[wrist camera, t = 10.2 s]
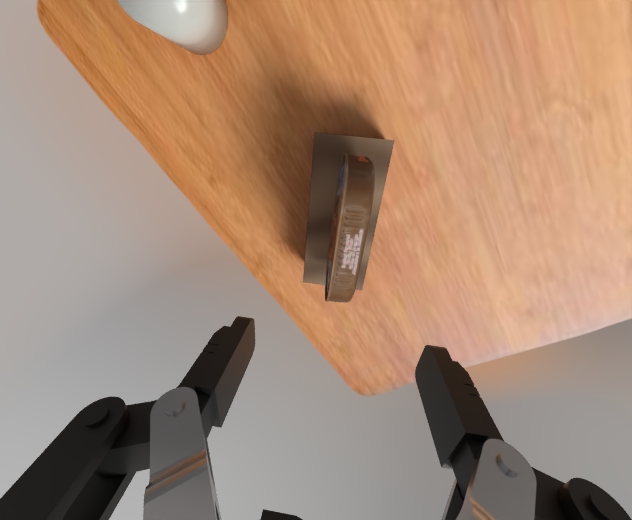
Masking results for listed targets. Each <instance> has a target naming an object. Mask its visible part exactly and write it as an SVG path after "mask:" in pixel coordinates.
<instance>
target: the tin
mask: <svg viewBox="0 0 632 520" xmlns="http://www.w3.org/2000/svg"><path fill="white" fill-rule="evenodd" d="M374 189H375V170H374V165H373V163H372V161H371V160H370V158H368V157H365V156H355V155H348V154H347V153H344V155H343V158H342V162H341V165H340V170H339V176H338V182H337V190H336V196H335V204H334V212H333V219H332V226H331V234H330V241H329V249H328V258H327V268H326V285H325V301H326V302H327V301H334V302H349V301H350V300H351V299H352V297H353V295H354V292H355V288H356V284H357V280H358V275H359V271H360V266H361V261H362V257H363V252H364V247H365V242H366V237H367V232H368V227H369V222H370V216H371V211H372V205H373V198H374Z"/></svg>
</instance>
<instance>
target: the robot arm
mask: <svg viewBox="0 0 632 520" xmlns="http://www.w3.org/2000/svg"><path fill="white" fill-rule="evenodd" d="M254 347H255V325H254V319H253V318H246V317H239V316H238V317H236V319H235V320H234V322H233V324H232V325H231V327H227V326H223V327H222V328H221V329H219V330H218V331H217V332H215V333H214V335H213V336H212V337H211V339H210V340H209V342H208V344H207V345H206V347H205V348H204V349H203V352H202V353H201V354H200V356H199V357H198V358H197V360H196V361H195V363H194V364H193V366H192V367H191V369H190V370H189V372H188V373H187V374H186V376H185V377H184V379H183V380H182V382H181V383H180V385H179V386H178V387H177V388H176V389H172V390H170V391H168V392H167V393H165V394H164V395H162V396H161V397H160V398H159V399H158V400H155V401H151V402H145V403H139V404H133V405H125V403H124V401H123V400H122V399H121V398H119V397H107V398H103V399H100V400H97V401H95V402H93V403H92V404H90V405H88V406H87V407H85V408H84V409H83V410H82V411H80V412H79V413H78V414H77V415H76V416H75V417H74V419H73V420H72V421H71V422H70V423H69V424H68V425H67V426H66V427H65V429H64V430H63V431H62V432H61V433H60V434H59V435H58V436H57V437H56V438H55V439H54V441H53V442H52V443H51V444H50V445H49V446H48V447H47V448H46V449H45V451H44V452H43V453H42V454H41V455H40V456H39V457H38V458H37V459H36V460H35V461H34V463H33V464H32V465H31V466H30V467H29V468H28V469H27V470H26V471H25V472H24V474H23V475H22V476H21V477H20V478H19V479H18V480H17V481H16V483H14V485H13V486H12V487H11V488H10V489H9V490H8V491H7V492H6V493H5V494H4V496H3V497H2V498H1V499H0V520H109V518H110V517H111V515H112V513H113V511H114V509H115V508H116V506H117V504H118V503H119V501H120V499H121V497H122V496H123V494H124V492H125V491H126V488H127V487H128V485H129V483H130V482H131V480H132V478H133V476H134V475H135V473H136V471H141V470H145V469H150V481H149V485H148V486H147V487H146V489H145V495H144V515H143V516H144V517H143V518H144V519H143V520H221V515H220V510H219V505H218V500H217V494H216V489H215V483H214V477H213V471H212V465H211V460H210V454H209V449H208V443H207V437H208V435H209V433H210V431H211V428H212V426H216V427H222V424H223V422H224V420H225V417H226V415H227V413H228V410H229V408H230V406H231V403H232V401H233V399H234V396H235V394H236V392H237V390H238V387H239V384H240V383H241V380H242V378H243V376H244V373H245V371H246V368H247V366H248V364H249V361H250V359H251V357H252V354H253V351H254ZM415 377H416V383H417V386H418V389H419V393H420V396H421V399H422V403H423V406H424V410H425V413H426V417H427V420H428V423H429V426H430V430H431V433H432V437H433V440H434V444H435V447H436V451H437V454H438V457H439V460H440V464H441V467H442V468H448V469H453V471H454V473H455V477H456V479H455V481H454V483H453V485H452V489H451V492H450V495H449V498H448V501H447V504H446V507H445V510H444V513H443V516H442V520H632V519H631V518H630V517H629V515H628V514H627V513H626V511H625V510H624V509H623V508H622V507H621V506H620V505H619V504H618V503H617V502H616V501H615V500H614V499H613V498H612V497H611V496H610V495H609V494H608V493H607V492H605V491H604V490H603V489H601V488H600V487H598V486H597V485H595V484H593V483H592V482H589V481H587V480H585V479H581V478H573V479H571V480H570V481H568V482H567V483H566V484H565V483H563V482H561V481H559V480H557V479H555V478H552V477H551V476H549V475H546V474H545V473H542V472H540V471H538V470H536V469H534V468H533V467H531V466H530V464H529V463H528V461H527V460H526V459H525V458H524V457H523V455H521V453H520V452H518V451H517V450H516V449H515V448H514V447H512V446H511V445H509V444H508V443H506V442H504V440H503V438H502V436H501V435H500V433H499V431H498V429H497V427H496V425H495V423H494V421H493V419H492V418H491V416H490V414H489V412H488V410H487V408H486V406H485V405H484V402H483V400H482V399H481V398H480V395H479V393H478V391H477V389H476V387H474V383H473V382H472V380H471V378H470V376H469V374H468V372H467V371H466V370H465V369H464V368H463V367H462V366H461V365H460V364H459V363H458V362H456V361H452V359H451V357H450V355H449V353H448V351H447V349H446V348H444V347H438V346H431V345H426V346H425V348H424V350H423V352H422V355H421V357H420V360H419V362H418V364H417V367H416V371H415ZM261 520H302V519H301V518H299V517H297V516H294V515H289V514H284V513H279V512H274V511H268V510H263V512H262V517H261Z"/></svg>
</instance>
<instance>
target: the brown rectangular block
mask: <svg viewBox="0 0 632 520" xmlns="http://www.w3.org/2000/svg"><path fill="white" fill-rule="evenodd" d="M393 144H394V140H385V139H375V138H365V137H355V136H345V135H335V134H326V133H316V132H315V134H314V147H313V160H312V173H311V186H310V199H309V212H308V225H307V238H306V251H305V263H304V276H303V282H306V283H313V284H320V285H326V268H327V258H328V249H329V241H330V234H331V226H332V219H333V212H334V204H335V196H336V190H337V182H338V176H339V170H340V165H341V162H342V158H343V155H344V153H347V154H348V155H355V156H365V157H368V158H370V160H371V161H372V163H373V165H374V170H375V189H374V198H373V205H372V211H371V216H370V222H369V227H368V232H367V237H366V242H365V247H364V252H363V257H362V261H361V266H360V271H359V275H358V280H357V284H356V288H355V289H357V290H362V287H363V283H364V278H365V274H366V269H367V264H368V260H369V255H370V250H371V246H372V241H373V237H374V232H375V227H376V223H377V218H378V214H379V209H380V204H381V200H382V195H383V190H384V186H385V181H386V177H387V172H388V167H389V163H390V158H391V154H392V149H393Z"/></svg>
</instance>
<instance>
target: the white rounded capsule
mask: <svg viewBox="0 0 632 520" xmlns="http://www.w3.org/2000/svg"><path fill="white" fill-rule="evenodd" d="M117 1H118V3H119V4H120V6H121V7H122V8H123V9H124V11H125V12H126V13H127V14H128V15H129V16H131V17H132V18H133V19H134V20H136V21H137V22H139V23H140V24H142V25H144V26H145V27H147V28H149V29H151V30H152V31H154V32H156V33H158V34H159V35H161V36H163V37H165V38H166V39H168V40H170V41H172V42H173V43H175V44H177V45H179V46H180V47H182V48H184V49H186V50H187V51H189V52H191V53H194V54H197V55H206V54H210V53H212V52H214V51H215V50H216V49H217V48H218V47H219V46H220V45H221V43H222V42H223V40H224V38H225V35H226V31H227V26H228V9H227V4H226V0H117Z"/></svg>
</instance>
